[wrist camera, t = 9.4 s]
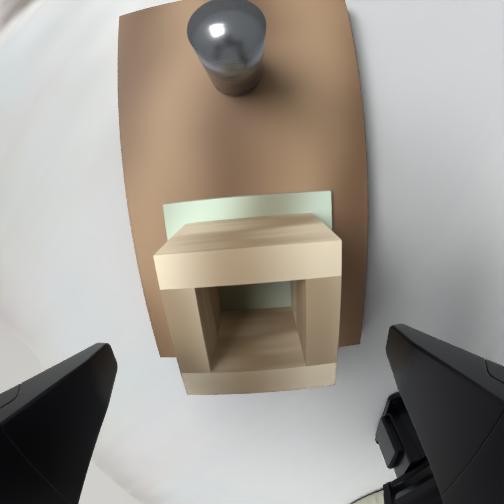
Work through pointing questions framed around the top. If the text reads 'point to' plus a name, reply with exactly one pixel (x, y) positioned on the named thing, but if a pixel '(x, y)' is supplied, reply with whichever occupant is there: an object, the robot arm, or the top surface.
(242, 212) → the board
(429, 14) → the top surface
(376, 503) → the canister
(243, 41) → the post
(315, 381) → the collar
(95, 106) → the top surface
